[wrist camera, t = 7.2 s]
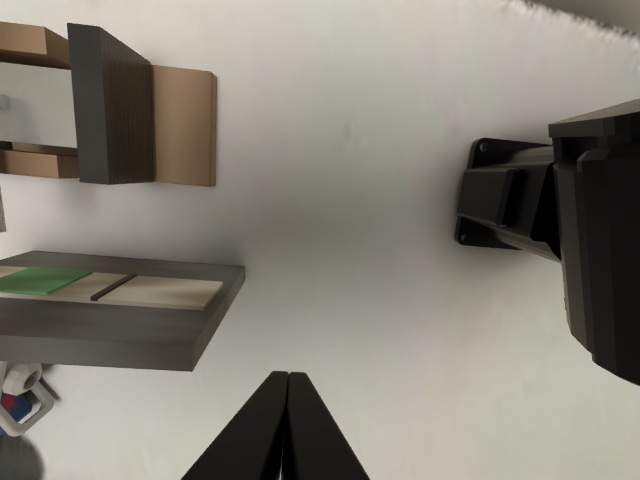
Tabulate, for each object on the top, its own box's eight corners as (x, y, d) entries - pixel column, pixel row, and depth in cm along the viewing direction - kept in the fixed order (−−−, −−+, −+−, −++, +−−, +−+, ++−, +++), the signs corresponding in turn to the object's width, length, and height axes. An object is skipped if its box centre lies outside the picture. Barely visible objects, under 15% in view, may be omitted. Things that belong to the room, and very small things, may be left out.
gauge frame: (252, 81, 17) (192, -18, 8) (244, 281, 19) (192, 371, 11) (-33, 49, 16) (-454, -104, 7) (-2, 263, 18) (-281, 345, 10)
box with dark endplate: (150, 62, 15) (61, 0, 10) (154, 226, 17) (82, 251, 12) (21, 47, 15) (-146, -26, 9) (40, 216, 17) (-91, 238, 11)
